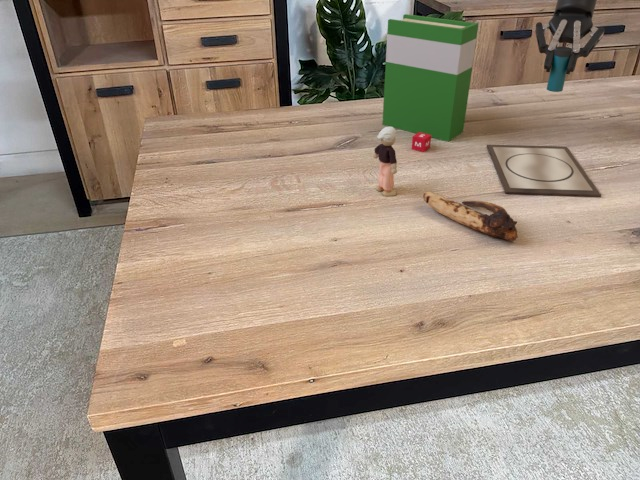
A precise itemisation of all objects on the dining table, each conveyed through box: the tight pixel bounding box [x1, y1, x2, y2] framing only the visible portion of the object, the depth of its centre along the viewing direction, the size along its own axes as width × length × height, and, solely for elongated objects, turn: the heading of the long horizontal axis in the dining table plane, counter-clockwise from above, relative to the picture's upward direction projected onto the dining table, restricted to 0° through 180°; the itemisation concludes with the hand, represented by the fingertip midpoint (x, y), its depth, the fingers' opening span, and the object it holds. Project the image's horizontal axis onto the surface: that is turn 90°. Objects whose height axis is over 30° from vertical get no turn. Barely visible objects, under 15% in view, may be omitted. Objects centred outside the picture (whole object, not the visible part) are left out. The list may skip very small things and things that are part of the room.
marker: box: [546, 46, 572, 93], centre depth 111 cm, size 3×3×8 cm
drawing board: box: [486, 144, 602, 198], centre depth 108 cm, size 17×22×1 cm
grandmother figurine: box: [372, 126, 398, 197], centre depth 98 cm, size 8×4×13 cm, turn 35°
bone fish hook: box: [422, 191, 519, 242], centre depth 91 cm, size 9×5×18 cm
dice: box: [411, 132, 432, 153], centre depth 117 cm, size 3×3×3 cm
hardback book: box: [381, 13, 479, 142], centre depth 121 cm, size 18×7×24 cm, turn 52°
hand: (558, 70), depth 110 cm, fingers closed on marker, 3 cm apart
